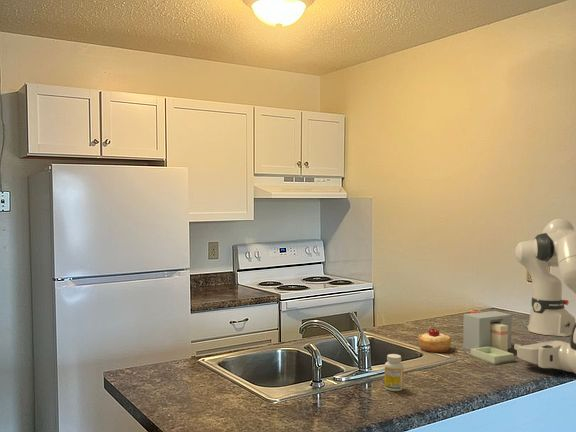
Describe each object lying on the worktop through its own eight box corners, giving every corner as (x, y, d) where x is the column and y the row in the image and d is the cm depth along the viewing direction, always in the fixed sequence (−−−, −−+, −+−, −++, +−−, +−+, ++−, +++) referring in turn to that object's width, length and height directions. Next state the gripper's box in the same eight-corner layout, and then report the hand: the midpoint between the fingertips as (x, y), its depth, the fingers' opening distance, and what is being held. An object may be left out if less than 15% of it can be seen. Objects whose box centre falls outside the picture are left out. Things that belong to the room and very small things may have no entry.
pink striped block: (494, 348, 202) (495, 322, 202) (507, 353, 196) (508, 325, 196) (487, 350, 200) (487, 323, 200) (500, 354, 195) (500, 326, 195)
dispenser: (494, 343, 210) (495, 310, 210) (511, 348, 203) (511, 314, 202) (463, 347, 203) (463, 314, 203) (479, 353, 196) (479, 318, 196)
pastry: (417, 345, 208) (417, 322, 208) (449, 346, 206) (449, 323, 206) (418, 353, 196) (418, 328, 196) (452, 354, 194) (452, 329, 194)
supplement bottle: (395, 392, 154) (396, 359, 154) (380, 388, 158) (381, 355, 158) (406, 388, 158) (407, 355, 157) (391, 384, 162) (392, 352, 161)
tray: (489, 353, 196) (489, 346, 196) (513, 361, 186) (513, 353, 186) (470, 355, 192) (470, 348, 192) (494, 364, 182) (494, 356, 182)
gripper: (582, 342, 179) (546, 332, 191) (539, 349, 170) (504, 338, 183) (582, 360, 179) (546, 350, 192) (538, 368, 170) (504, 357, 183)
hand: (525, 344), depth 187 cm, fingers open, 8 cm apart
